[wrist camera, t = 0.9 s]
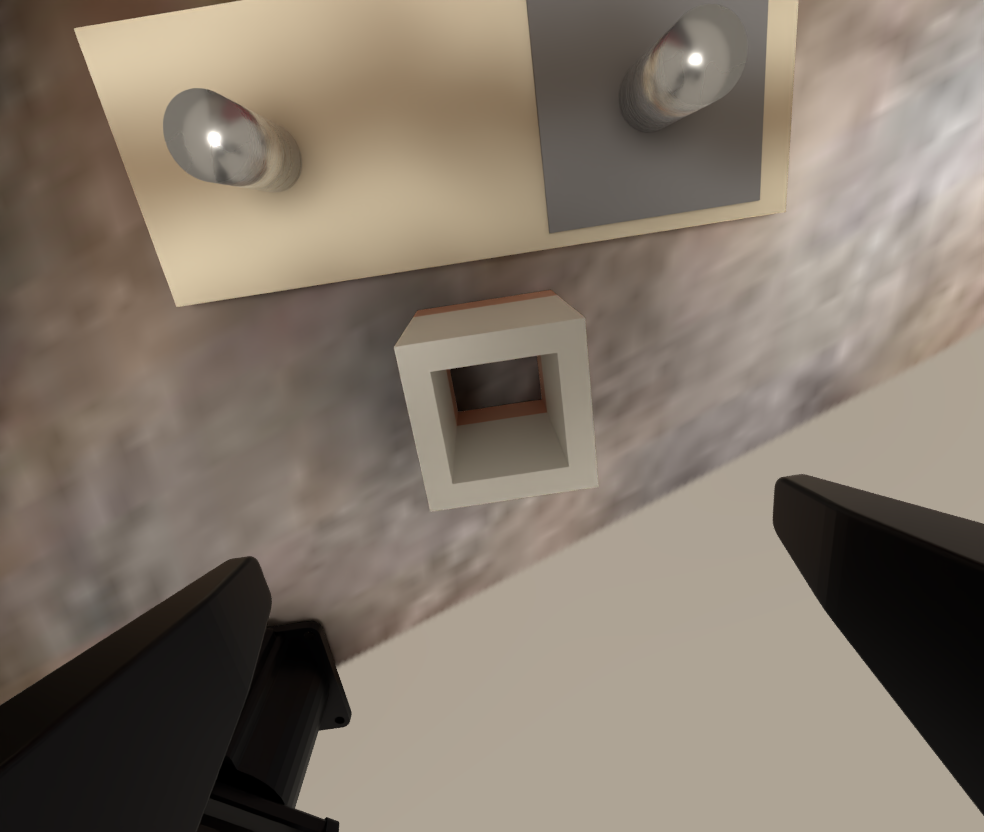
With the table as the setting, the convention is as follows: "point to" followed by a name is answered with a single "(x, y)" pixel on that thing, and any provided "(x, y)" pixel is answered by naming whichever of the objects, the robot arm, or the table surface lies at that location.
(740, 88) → the pin board
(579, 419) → the sleeve
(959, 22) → the table surface
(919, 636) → the robot arm
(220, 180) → the pins
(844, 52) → the table surface
